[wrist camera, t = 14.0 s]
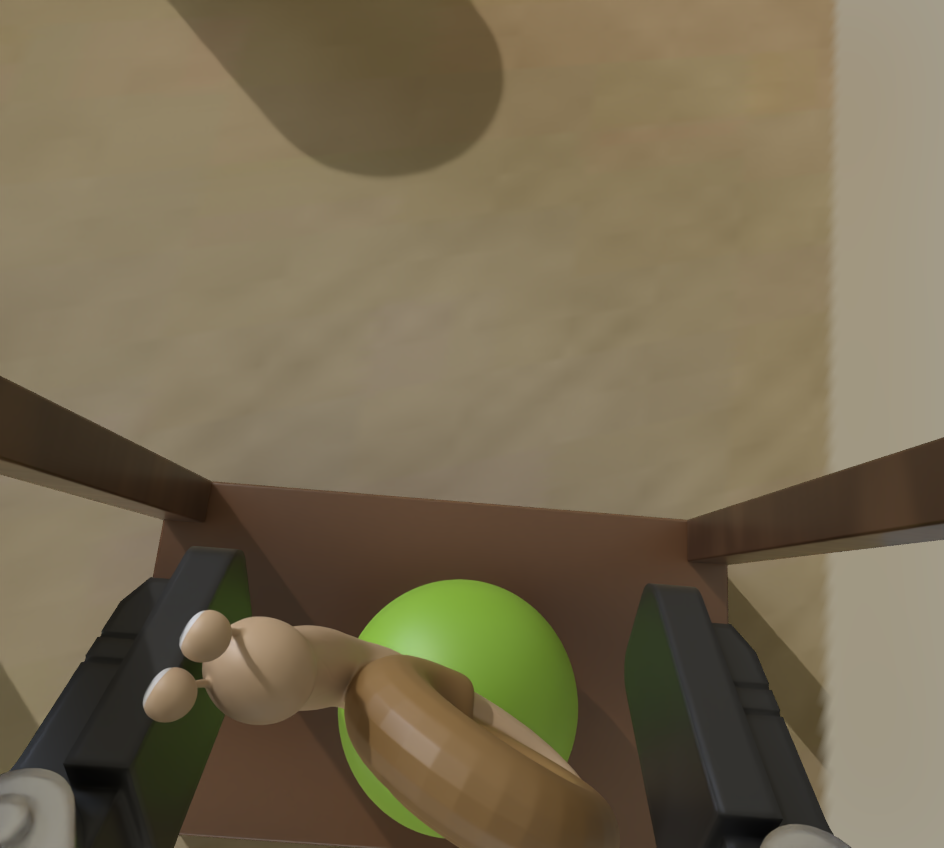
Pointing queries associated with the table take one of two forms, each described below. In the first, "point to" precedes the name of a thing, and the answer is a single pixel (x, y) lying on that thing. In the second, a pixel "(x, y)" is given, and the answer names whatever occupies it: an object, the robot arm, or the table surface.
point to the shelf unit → (436, 559)
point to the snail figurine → (420, 710)
